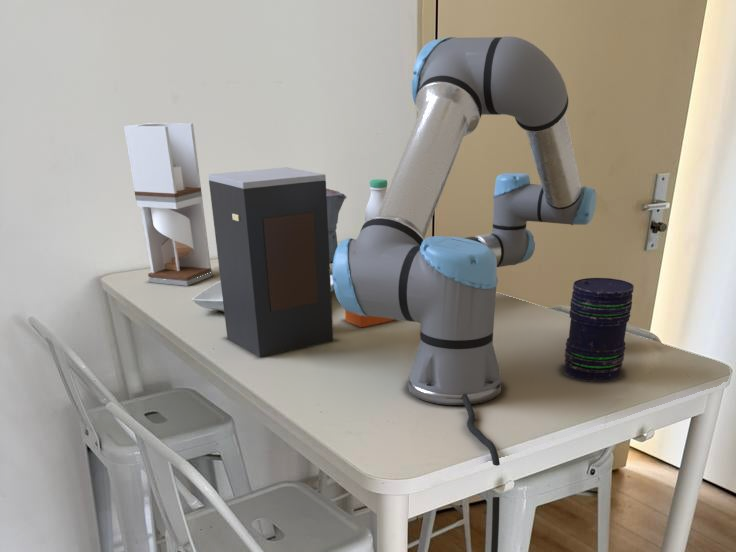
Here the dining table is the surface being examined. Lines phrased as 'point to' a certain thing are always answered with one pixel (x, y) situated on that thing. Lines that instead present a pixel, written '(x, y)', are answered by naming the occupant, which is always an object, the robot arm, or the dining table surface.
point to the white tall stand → (169, 201)
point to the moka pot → (333, 218)
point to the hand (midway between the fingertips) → (391, 268)
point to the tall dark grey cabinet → (273, 258)
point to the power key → (364, 319)
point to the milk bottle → (375, 197)
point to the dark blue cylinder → (597, 328)
